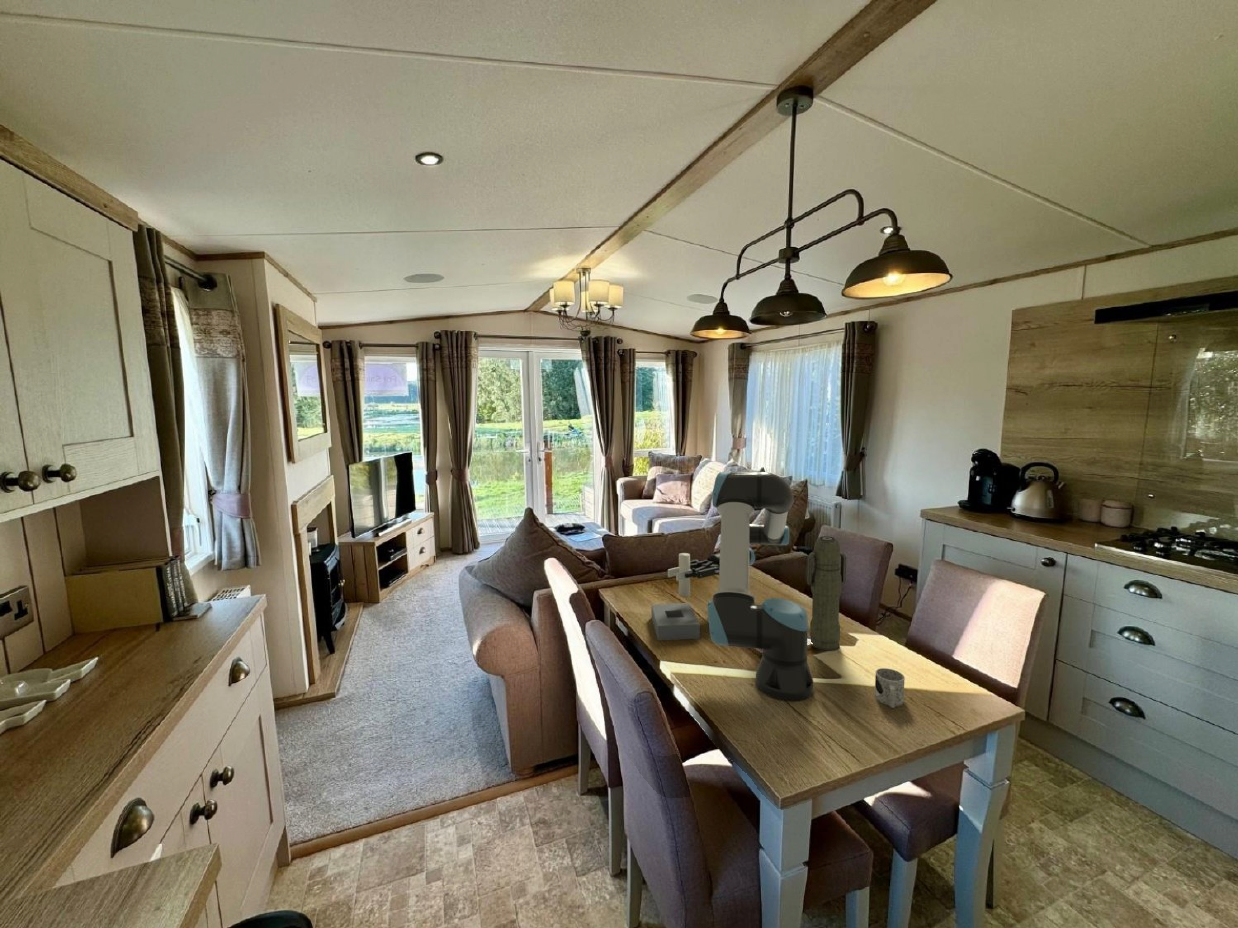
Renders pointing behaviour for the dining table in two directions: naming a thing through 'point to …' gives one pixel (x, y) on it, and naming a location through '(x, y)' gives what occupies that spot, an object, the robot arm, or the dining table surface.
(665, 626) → the hole block
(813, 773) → the dining table surface
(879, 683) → the mug
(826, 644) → the thermos
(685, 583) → the pin
